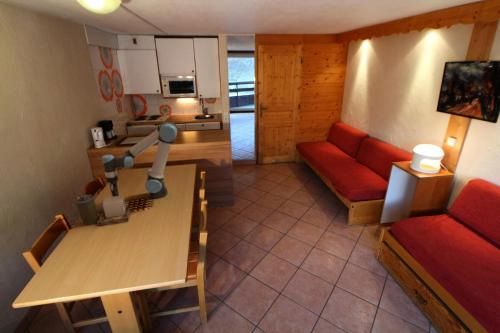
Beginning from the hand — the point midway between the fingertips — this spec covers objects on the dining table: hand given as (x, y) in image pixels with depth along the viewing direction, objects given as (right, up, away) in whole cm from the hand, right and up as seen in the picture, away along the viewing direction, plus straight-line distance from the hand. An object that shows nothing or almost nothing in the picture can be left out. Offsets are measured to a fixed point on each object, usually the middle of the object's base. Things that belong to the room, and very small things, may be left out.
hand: (117, 204), depth 190 cm
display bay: (+5, -8, -13) cm, 16 cm away
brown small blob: (-11, -4, -3) cm, 12 cm away
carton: (+3, -5, -7) cm, 9 cm away
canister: (-10, -9, -16) cm, 21 cm away
